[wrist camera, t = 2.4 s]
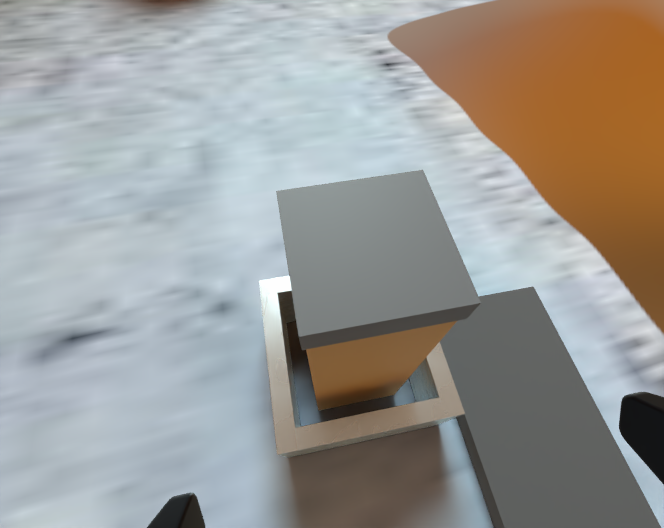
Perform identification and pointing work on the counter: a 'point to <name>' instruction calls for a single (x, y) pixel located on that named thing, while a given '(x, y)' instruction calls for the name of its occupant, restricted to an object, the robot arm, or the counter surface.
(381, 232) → the grey capped orange post
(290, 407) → the socket
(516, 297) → the rubber mat
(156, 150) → the counter surface
